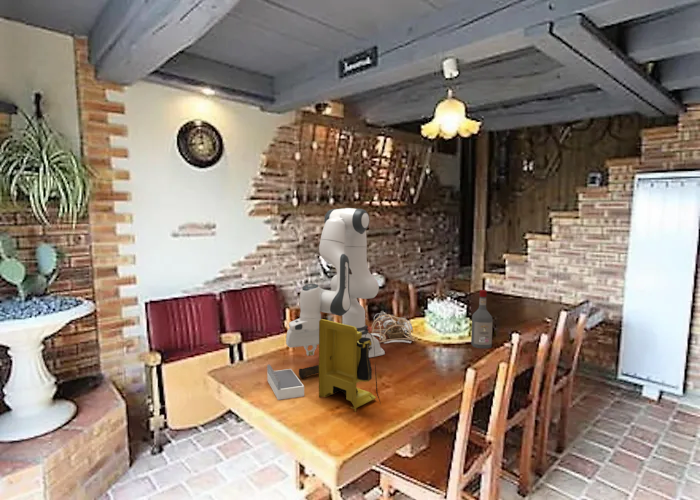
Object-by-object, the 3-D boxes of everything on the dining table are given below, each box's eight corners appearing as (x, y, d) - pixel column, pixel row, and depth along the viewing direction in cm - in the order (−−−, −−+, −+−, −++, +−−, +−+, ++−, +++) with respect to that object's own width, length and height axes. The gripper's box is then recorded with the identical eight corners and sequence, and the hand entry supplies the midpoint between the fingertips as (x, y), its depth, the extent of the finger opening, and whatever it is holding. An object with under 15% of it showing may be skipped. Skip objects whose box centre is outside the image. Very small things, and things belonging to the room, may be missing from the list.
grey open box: (291, 377, 185) (291, 361, 184) (304, 396, 166) (304, 378, 166) (267, 380, 181) (267, 364, 181) (278, 400, 163) (277, 382, 162)
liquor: (492, 350, 225) (494, 292, 222) (474, 350, 225) (476, 292, 222) (487, 345, 234) (489, 289, 231) (470, 344, 234) (472, 288, 232)
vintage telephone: (396, 406, 159) (398, 324, 156) (372, 419, 148) (373, 332, 146) (334, 383, 180) (334, 310, 177) (309, 393, 169) (309, 316, 167)
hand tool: (302, 380, 182) (303, 369, 181) (297, 376, 185) (298, 365, 184) (340, 371, 193) (341, 361, 192) (335, 367, 196) (336, 358, 195)
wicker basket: (359, 346, 236) (359, 318, 233) (383, 325, 267) (384, 299, 264) (408, 356, 224) (409, 326, 221) (428, 332, 255) (429, 306, 252)
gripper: (331, 319, 192) (331, 350, 193) (285, 323, 184) (285, 355, 185) (336, 322, 186) (335, 354, 187) (288, 326, 178) (288, 360, 180)
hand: (310, 355), depth 186 cm, fingers closed
